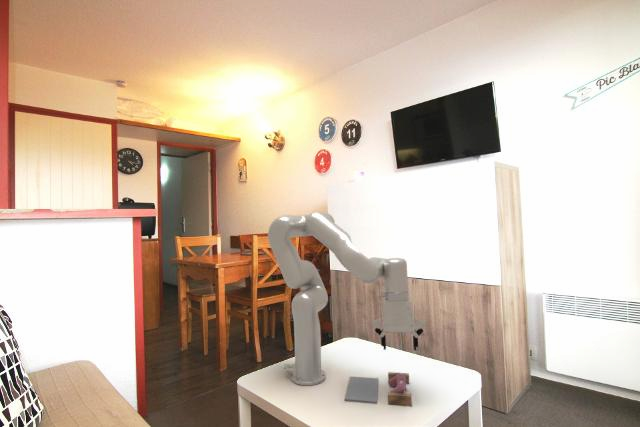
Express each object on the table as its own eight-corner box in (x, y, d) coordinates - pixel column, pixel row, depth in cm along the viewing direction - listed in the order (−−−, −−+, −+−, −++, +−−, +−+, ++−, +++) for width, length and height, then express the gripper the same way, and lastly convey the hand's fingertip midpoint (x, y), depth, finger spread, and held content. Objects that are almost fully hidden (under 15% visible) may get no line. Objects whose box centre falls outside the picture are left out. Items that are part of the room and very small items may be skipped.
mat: (344, 401, 108) (344, 399, 108) (350, 378, 123) (350, 376, 123) (376, 403, 106) (376, 401, 106) (378, 380, 121) (378, 378, 121)
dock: (388, 404, 105) (387, 394, 105) (388, 380, 121) (388, 372, 121) (411, 406, 104) (411, 396, 104) (408, 382, 119) (408, 373, 119)
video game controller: (400, 405, 107) (410, 386, 107) (387, 398, 108) (396, 378, 107) (399, 390, 117) (408, 372, 116) (387, 383, 118) (395, 365, 117)
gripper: (369, 298, 111) (372, 352, 110) (425, 298, 107) (428, 353, 107) (371, 294, 118) (373, 344, 118) (423, 293, 115) (426, 345, 114)
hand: (399, 348), depth 112 cm, fingers open, 9 cm apart
